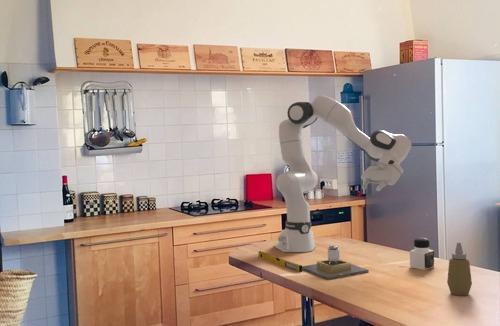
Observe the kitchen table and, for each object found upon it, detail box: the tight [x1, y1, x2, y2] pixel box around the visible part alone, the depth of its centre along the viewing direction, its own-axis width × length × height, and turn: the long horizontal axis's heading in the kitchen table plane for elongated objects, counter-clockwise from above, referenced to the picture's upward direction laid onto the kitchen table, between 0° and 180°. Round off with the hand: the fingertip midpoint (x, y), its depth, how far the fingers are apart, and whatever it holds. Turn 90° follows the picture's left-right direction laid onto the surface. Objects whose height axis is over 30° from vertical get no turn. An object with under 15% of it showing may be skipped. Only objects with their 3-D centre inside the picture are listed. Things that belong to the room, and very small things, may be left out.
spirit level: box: [258, 250, 303, 273], centre depth 247 cm, size 33×1×3 cm, turn 29°
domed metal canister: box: [327, 245, 341, 266], centre depth 232 cm, size 5×5×9 cm
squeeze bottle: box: [446, 242, 473, 297], centre depth 196 cm, size 8×8×18 cm
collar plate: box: [302, 259, 369, 280], centre depth 233 cm, size 20×20×4 cm
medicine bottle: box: [409, 237, 435, 271], centre depth 233 cm, size 7×7×12 cm
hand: (370, 189), depth 247 cm, fingers open, 8 cm apart
